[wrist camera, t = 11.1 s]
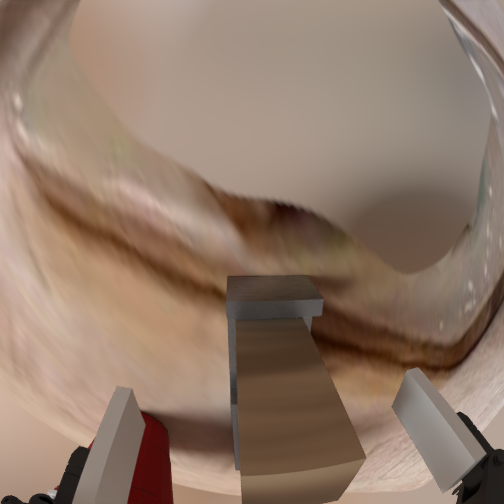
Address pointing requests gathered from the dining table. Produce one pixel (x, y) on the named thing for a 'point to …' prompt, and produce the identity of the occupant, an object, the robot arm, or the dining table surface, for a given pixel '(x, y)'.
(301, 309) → the rail
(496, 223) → the dining table surface
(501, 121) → the dining table surface
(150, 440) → the plastic cup
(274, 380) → the tan wooden block
